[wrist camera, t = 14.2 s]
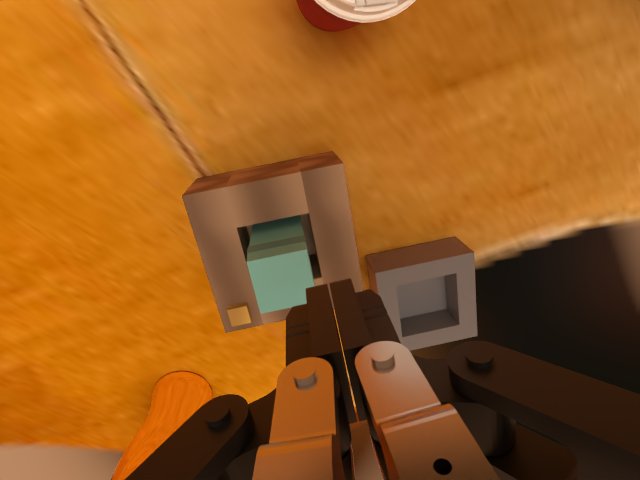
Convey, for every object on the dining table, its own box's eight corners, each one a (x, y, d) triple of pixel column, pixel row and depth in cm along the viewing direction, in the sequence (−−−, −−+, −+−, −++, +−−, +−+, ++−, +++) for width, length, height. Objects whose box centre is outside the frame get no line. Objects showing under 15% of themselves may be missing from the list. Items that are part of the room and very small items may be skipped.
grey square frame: (455, 236, 39) (473, 252, 35) (459, 314, 42) (477, 335, 39) (365, 255, 39) (375, 273, 35) (377, 331, 42) (387, 355, 38)
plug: (298, 206, 35) (307, 248, 26) (307, 248, 37) (318, 302, 27) (253, 215, 35) (245, 261, 26) (264, 257, 37) (260, 314, 27)
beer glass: (198, 358, 41) (158, 497, 27) (227, 405, 43) (204, 555, 30) (136, 381, 41) (64, 531, 27) (169, 427, 44) (119, 587, 30)
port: (332, 151, 35) (344, 164, 29) (352, 272, 39) (367, 306, 33) (196, 178, 34) (180, 198, 28) (232, 297, 39) (224, 336, 33)
